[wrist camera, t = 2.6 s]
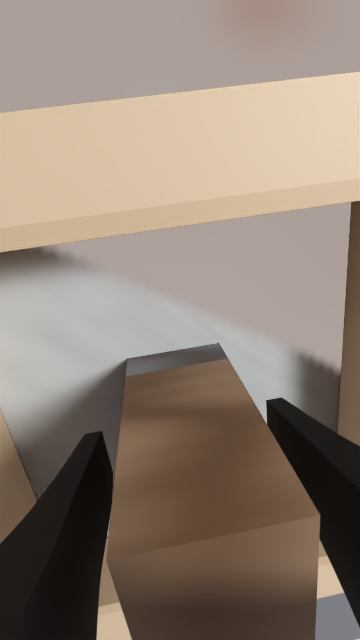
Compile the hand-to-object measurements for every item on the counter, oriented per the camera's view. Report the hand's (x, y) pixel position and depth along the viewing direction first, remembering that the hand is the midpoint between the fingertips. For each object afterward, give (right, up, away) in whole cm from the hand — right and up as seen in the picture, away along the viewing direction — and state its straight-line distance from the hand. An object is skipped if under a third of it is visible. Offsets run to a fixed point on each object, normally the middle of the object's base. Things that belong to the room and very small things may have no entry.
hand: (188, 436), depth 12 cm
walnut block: (0, +1, +2) cm, 2 cm away
